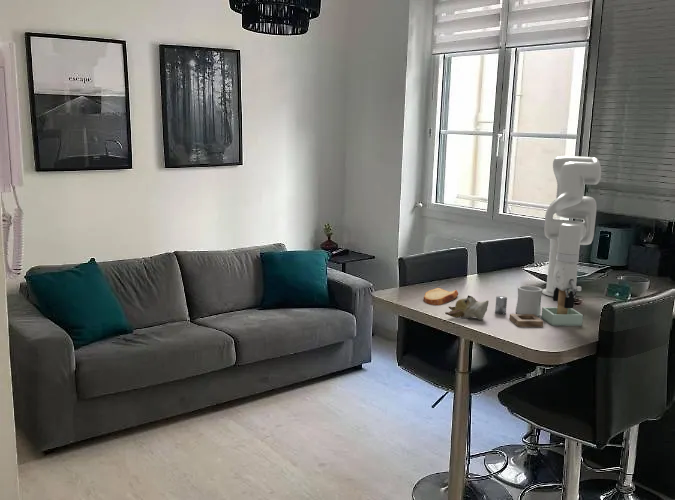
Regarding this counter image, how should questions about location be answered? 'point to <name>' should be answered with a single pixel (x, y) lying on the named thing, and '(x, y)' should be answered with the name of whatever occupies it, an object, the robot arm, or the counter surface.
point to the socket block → (526, 320)
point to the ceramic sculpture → (468, 308)
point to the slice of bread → (439, 296)
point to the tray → (561, 317)
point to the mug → (529, 300)
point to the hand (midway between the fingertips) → (562, 304)
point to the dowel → (562, 302)
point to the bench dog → (501, 305)
